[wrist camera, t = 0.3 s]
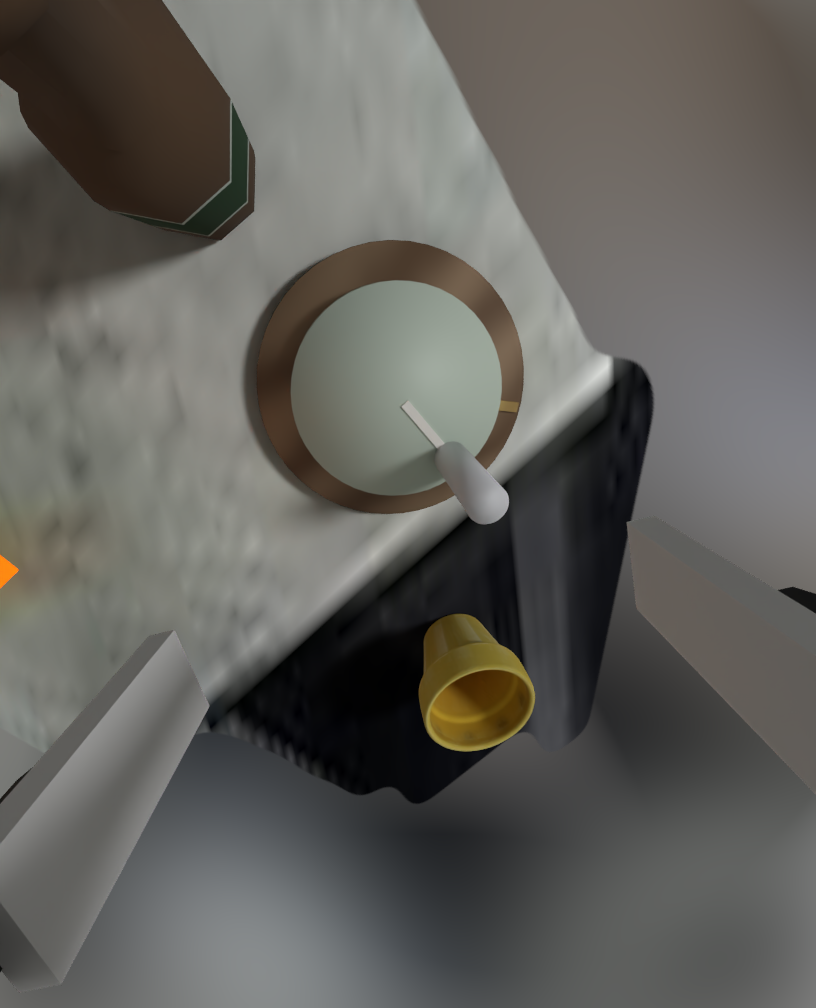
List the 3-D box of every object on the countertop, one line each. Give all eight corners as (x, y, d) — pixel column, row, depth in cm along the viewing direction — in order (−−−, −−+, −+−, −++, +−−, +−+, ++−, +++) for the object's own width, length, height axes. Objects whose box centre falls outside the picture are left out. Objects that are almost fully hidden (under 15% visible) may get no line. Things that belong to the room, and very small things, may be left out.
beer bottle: (233, 81, 28) (-21, -559, 7) (278, 227, 32) (207, 112, 10) (104, 111, 28) (-608, -473, 6) (165, 257, 31) (-157, 199, 10)
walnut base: (197, 379, 35) (192, 383, 33) (411, 169, 32) (416, 164, 30) (381, 549, 44) (383, 558, 42) (562, 400, 41) (570, 403, 39)
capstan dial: (245, 385, 34) (219, 424, 25) (410, 227, 32) (451, 204, 22) (386, 522, 41) (408, 593, 32) (530, 401, 39) (600, 439, 29)
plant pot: (384, 641, 49) (400, 720, 40) (461, 580, 47) (495, 648, 38) (444, 688, 53) (470, 768, 44) (516, 634, 52) (557, 705, 43)
